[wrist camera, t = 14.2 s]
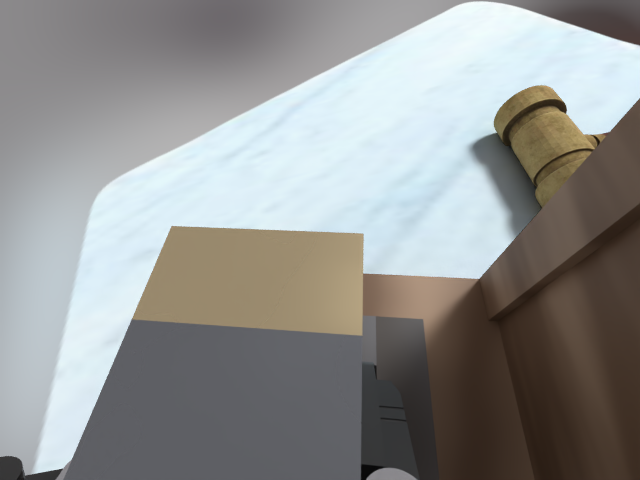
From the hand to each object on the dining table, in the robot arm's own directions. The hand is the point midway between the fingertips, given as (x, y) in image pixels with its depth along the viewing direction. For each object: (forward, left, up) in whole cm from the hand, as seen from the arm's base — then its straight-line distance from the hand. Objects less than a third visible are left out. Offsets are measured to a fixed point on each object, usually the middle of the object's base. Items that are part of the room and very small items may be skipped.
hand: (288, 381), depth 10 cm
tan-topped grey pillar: (0, +2, -4) cm, 5 cm away
